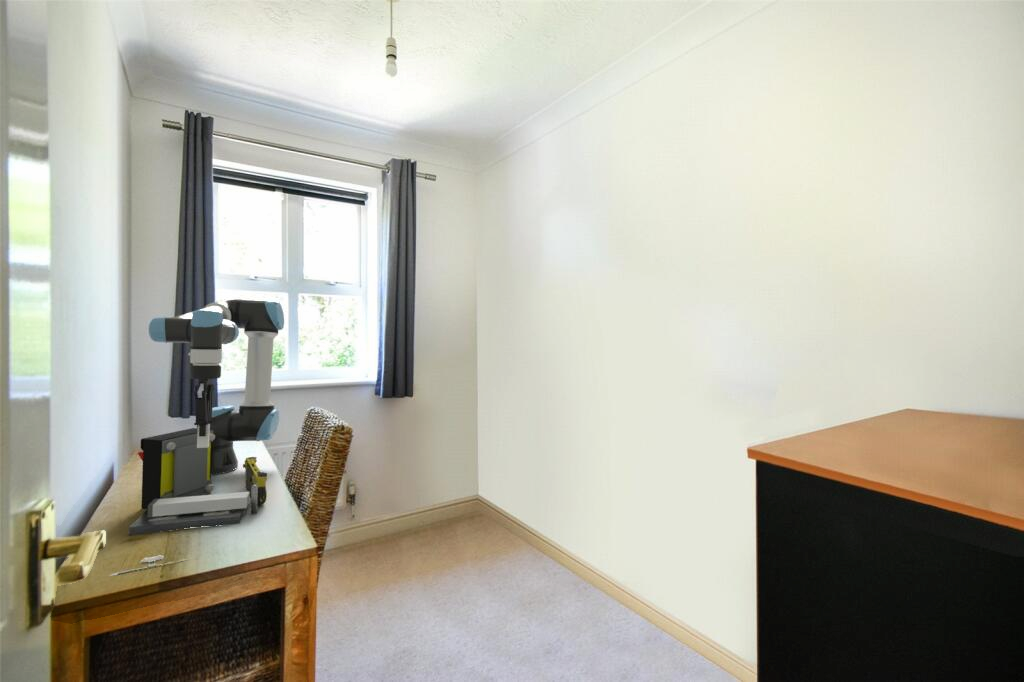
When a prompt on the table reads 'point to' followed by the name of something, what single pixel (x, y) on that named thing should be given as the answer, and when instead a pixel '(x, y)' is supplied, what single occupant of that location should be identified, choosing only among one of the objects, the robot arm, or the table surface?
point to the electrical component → (175, 466)
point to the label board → (192, 518)
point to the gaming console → (255, 479)
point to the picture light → (144, 567)
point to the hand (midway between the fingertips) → (203, 447)
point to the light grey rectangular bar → (198, 504)
